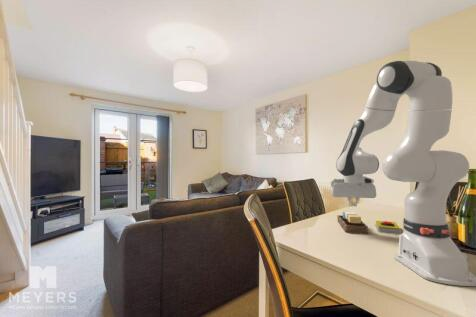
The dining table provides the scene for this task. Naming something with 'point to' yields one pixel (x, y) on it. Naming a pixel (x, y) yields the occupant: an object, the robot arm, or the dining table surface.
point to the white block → (349, 214)
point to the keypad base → (352, 226)
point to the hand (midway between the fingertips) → (353, 206)
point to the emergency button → (387, 227)
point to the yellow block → (354, 219)
